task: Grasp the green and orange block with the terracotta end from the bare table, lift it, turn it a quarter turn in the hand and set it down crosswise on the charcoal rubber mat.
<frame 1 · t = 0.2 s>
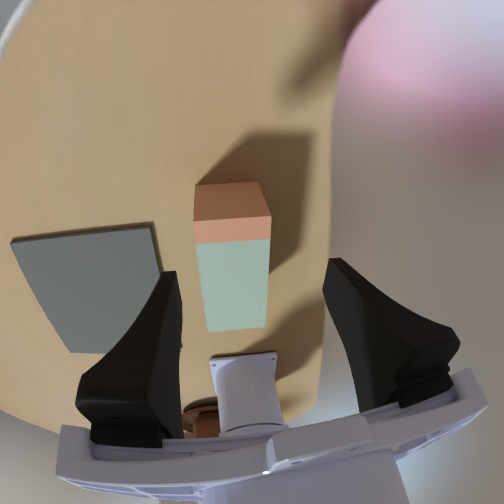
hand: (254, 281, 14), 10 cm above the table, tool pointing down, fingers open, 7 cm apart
green and orange block: (228, 240, 24), on the table
rubber mat: (98, 302, 26), on the table
cup and saucer: (214, 412, 45), on the table
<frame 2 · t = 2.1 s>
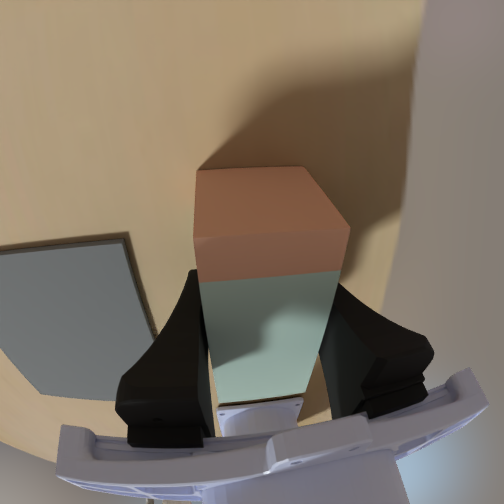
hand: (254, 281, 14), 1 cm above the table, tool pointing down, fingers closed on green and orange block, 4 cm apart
green and orange block: (250, 262, 15), on the table, touching gripper
skyscraper: (172, 473, 43), on the table
rubber mat: (63, 343, 17), on the table
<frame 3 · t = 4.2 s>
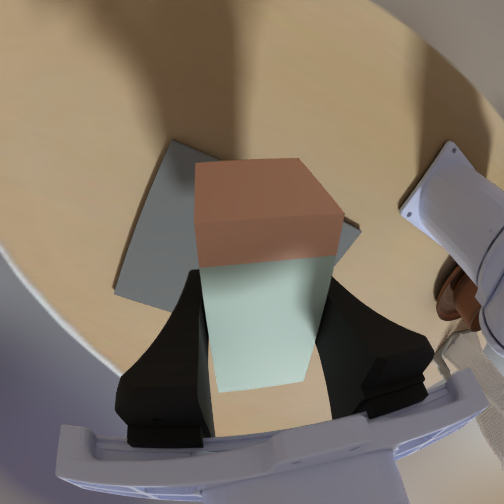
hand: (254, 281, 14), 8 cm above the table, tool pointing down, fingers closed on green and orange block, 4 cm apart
green and orange block: (247, 253, 16), point 6 cm above the table, touching gripper
skyscraper: (456, 340, 41), on the table
rubber mat: (233, 261, 24), on the table
cup and saucer: (465, 275, 31), on the table
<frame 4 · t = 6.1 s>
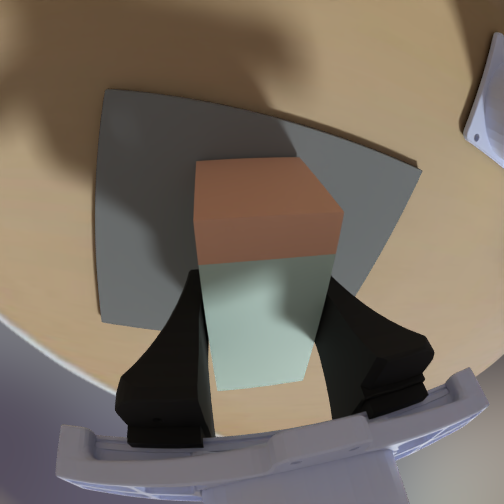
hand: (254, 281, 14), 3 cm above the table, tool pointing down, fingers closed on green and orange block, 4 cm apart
green and orange block: (248, 251, 16), point 1 cm above the table, touching gripper
rubber mat: (247, 248, 16), on the table
when the fingers open (3 cm above the table, at t = 6.6 s): green and orange block stays where it is, resting on rubber mat.
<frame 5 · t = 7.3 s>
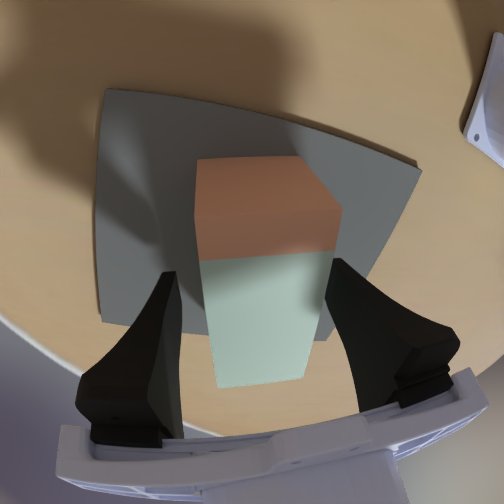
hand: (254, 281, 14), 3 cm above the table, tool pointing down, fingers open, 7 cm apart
green and orange block: (248, 249, 16), resting on rubber mat
rubber mat: (247, 248, 16), on the table
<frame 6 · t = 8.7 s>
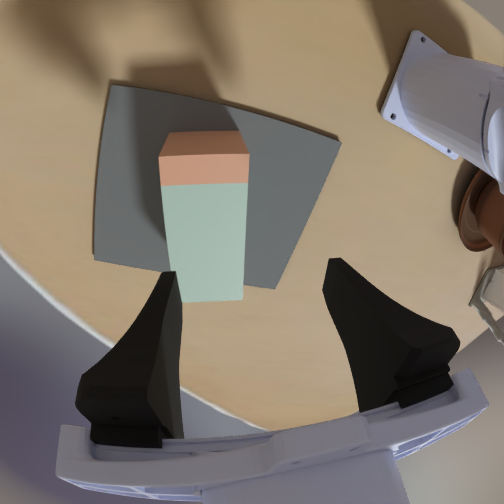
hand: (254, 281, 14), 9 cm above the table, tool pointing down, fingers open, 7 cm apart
green and orange block: (205, 199, 21), resting on rubber mat
skyscraper: (493, 279, 35), on the table
rubber mat: (204, 199, 22), on the table
cup and saucer: (485, 196, 25), on the table
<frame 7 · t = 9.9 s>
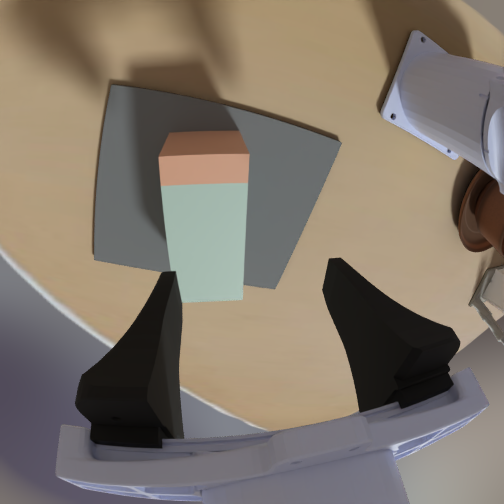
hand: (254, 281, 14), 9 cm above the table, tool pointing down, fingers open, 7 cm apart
green and orange block: (205, 199, 21), resting on rubber mat
skyscraper: (493, 279, 35), on the table
rubber mat: (204, 199, 22), on the table
cup and saucer: (485, 197, 25), on the table
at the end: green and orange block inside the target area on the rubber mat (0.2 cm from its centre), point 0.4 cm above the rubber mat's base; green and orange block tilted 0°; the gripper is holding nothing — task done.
